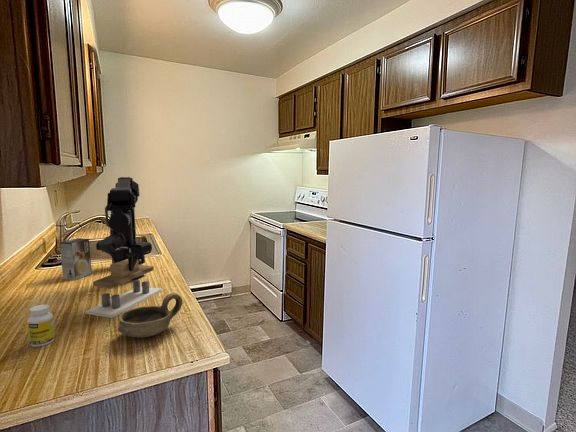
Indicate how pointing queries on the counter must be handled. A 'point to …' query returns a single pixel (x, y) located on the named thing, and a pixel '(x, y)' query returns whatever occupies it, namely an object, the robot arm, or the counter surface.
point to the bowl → (149, 318)
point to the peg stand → (123, 300)
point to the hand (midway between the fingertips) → (125, 270)
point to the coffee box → (75, 258)
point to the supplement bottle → (40, 326)
